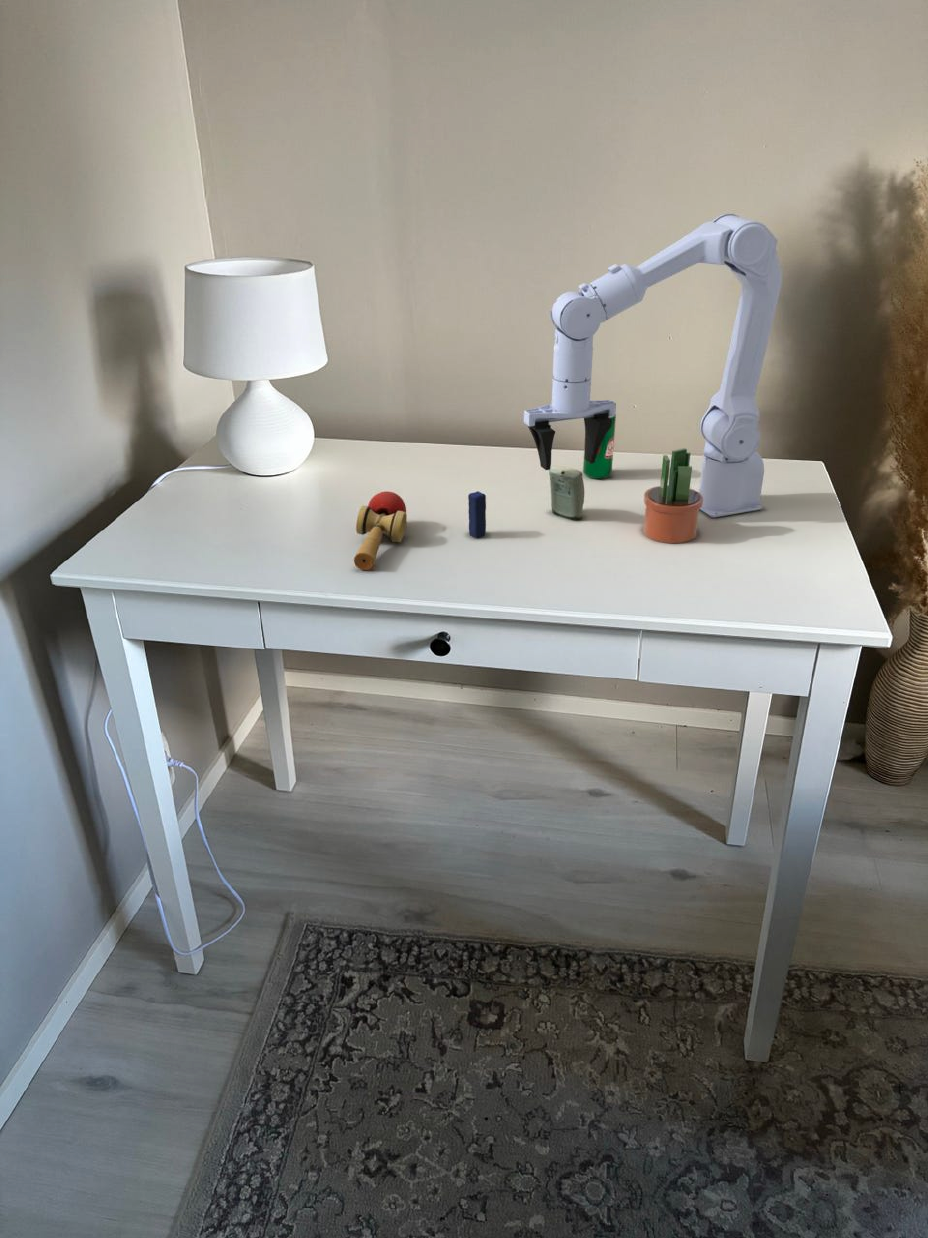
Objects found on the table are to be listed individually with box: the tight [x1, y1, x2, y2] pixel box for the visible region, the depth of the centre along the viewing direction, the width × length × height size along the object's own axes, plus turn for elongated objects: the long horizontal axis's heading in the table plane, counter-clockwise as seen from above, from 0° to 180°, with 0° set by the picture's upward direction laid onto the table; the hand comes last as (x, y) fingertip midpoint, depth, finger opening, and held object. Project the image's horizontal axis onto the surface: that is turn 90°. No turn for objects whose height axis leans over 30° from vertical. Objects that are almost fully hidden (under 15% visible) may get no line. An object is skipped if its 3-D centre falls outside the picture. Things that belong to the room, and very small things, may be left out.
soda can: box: [582, 413, 617, 480], centre depth 169 cm, size 5×5×12 cm
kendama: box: [353, 490, 407, 571], centre depth 146 cm, size 8×6×18 cm
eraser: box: [467, 491, 487, 539], centre depth 148 cm, size 2×2×7 cm
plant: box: [642, 447, 703, 544], centre depth 147 cm, size 9×9×13 cm
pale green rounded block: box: [548, 465, 585, 521], centre depth 154 cm, size 6×5×8 cm
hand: (567, 464), depth 151 cm, fingers open, 7 cm apart
